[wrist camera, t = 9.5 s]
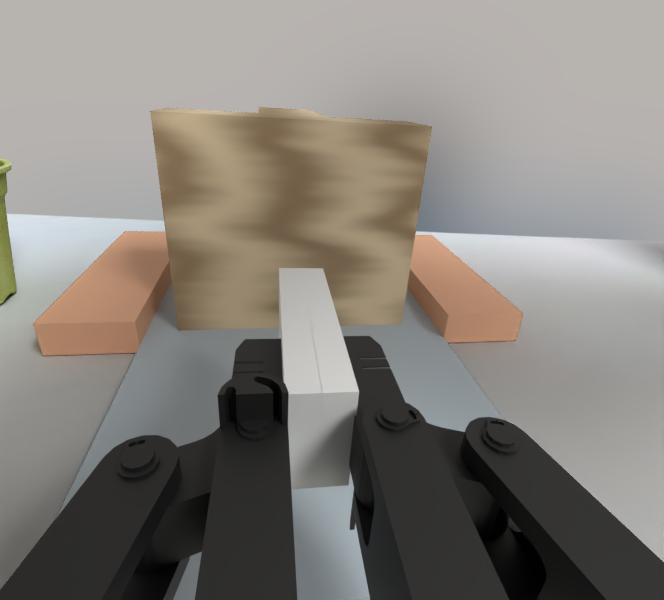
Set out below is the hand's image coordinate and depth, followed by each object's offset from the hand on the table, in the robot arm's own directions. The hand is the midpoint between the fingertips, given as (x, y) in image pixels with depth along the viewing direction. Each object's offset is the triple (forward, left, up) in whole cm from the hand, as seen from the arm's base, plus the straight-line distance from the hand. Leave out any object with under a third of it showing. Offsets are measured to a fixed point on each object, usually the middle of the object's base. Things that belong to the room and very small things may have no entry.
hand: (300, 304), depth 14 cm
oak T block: (-1, -17, -6) cm, 18 cm away
